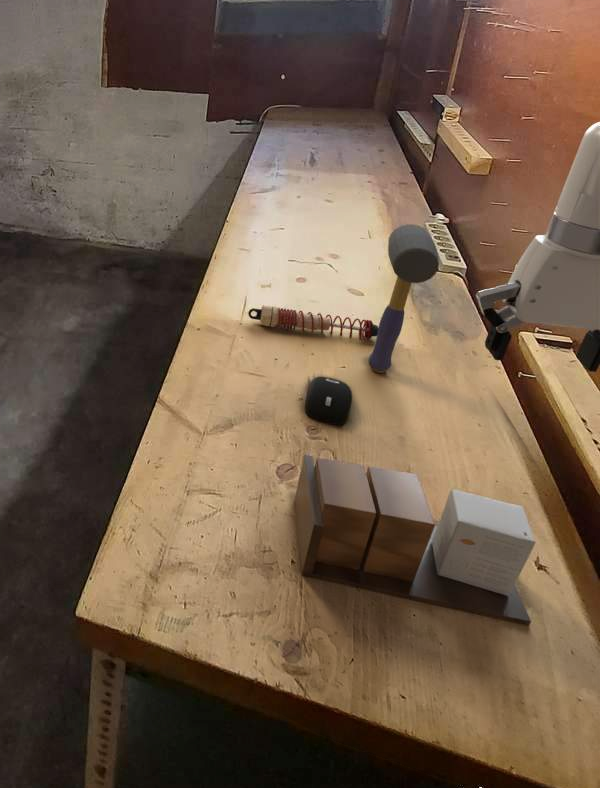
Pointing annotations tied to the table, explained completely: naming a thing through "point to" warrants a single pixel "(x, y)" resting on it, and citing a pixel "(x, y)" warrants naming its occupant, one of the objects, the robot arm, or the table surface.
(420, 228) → the rubber mallet
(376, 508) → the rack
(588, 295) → the robot arm
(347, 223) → the table surface
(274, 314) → the shock absorber
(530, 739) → the table surface
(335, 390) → the portable bluetooth speaker
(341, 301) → the table surface
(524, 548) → the small box
